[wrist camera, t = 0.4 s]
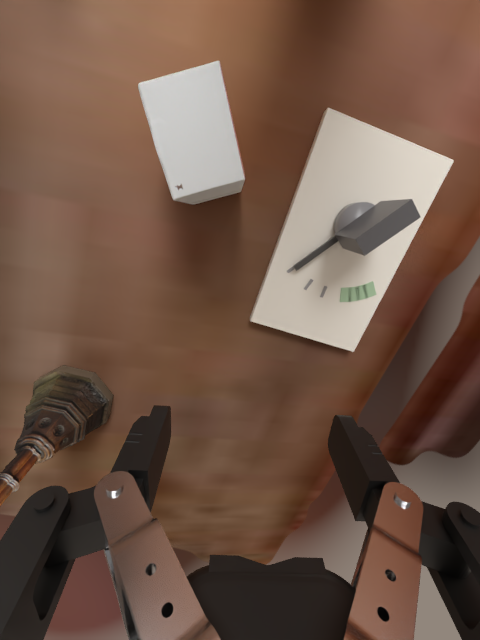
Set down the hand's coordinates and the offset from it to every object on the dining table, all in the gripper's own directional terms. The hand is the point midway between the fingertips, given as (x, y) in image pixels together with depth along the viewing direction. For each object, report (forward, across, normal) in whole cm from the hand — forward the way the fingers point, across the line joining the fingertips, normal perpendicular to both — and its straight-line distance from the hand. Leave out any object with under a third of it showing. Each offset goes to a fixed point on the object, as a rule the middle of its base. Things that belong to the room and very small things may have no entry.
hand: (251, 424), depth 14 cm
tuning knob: (+25, -11, -7) cm, 28 cm away
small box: (+27, +5, -14) cm, 31 cm away
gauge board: (+27, -12, -6) cm, 30 cm away
